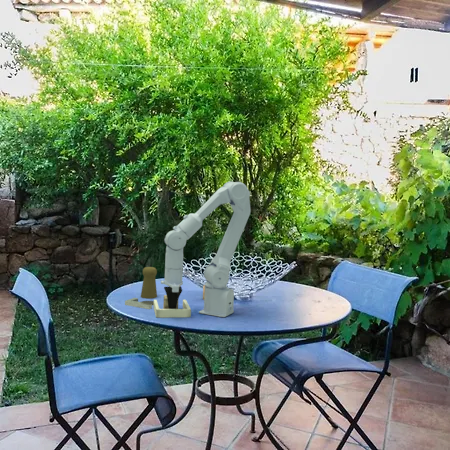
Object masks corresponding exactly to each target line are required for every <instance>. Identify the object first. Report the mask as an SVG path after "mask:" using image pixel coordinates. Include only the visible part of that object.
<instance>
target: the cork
mask: <svg viewBox="0 0 450 450" xmlns="http://www.w3.org/2000/svg"><path fill="white" fill-rule="evenodd" d="M157 270H158V269H157V268H156V267H153V266H145V267H144V268H143V269H142V275H143V280H142V285H141V293H140V298H142V299H146V300H147V299H150V300H151V299H157V298H158V291H157V283H156V276H157V273H158V271H157Z"/></svg>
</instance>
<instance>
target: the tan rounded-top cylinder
mask: <svg viewBox="0 0 450 450" xmlns="http://www.w3.org/2000/svg"><path fill="white" fill-rule="evenodd" d="M204 295H205V284H203V286H202V300H203V301H204Z"/></svg>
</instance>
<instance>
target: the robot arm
mask: <svg viewBox="0 0 450 450" xmlns="http://www.w3.org/2000/svg"><path fill="white" fill-rule="evenodd" d="M250 196H251V191H249V189H248V187H247V185H246V184H245V183H243V182H242V181H235V182H234V181H227V182H225V183H224V184H223V186H221V187H219V188H218V189H217V190H216V191H215V192H214V193H213V194H212V195H211V196H210V197H209V198H208V200H207V201H206V202H205V203H203V204H202V206H201V207H200V208H199V209H198V210H197V211H196V212H195V213H193V212H192V213H189V214H188V215H187V214H185V215H184V216H183V220H181V222H179V223H178V224H177V225H174V226H173V227H172V229H173V230H170V231H168V232H167V233H166V235H165V237H164V243H165V245H166V248H165V259H164V261H165V263H164V280H160V284H161V285H165V286H164V287H163V289H164V291H165V295H167V300H168V307H169V309H176V306H177V302H178V303H179V298H180V296H181V294H182V292H183V289H182V285H183V283H184V281H183V272H184V271H183V270H184V267H183V266H184V247H186V244H187V240H189V239H191V237H193V236H194V234H196V233H197V231H199V230H200V229H201V228H202V227H203V221H204V220H205V219H206V218H207V217H208V216H210V215H211V213H212V212H214V211H215V210H216V209H217V208H218V207H220V206H221V205H225V204H230V207H231V209H232V211H233V213H232V215H231V219H230V221H229V223H228V225H227V228H226V231H225V232H224V235H223V237H222V240H221V243H219V244H220V245H219V247H218V250H217V251H216V254H215V256H214V257H213V258H211V261H210V263H209V264H208V265H207V266H206V267H205V269H204V270H203V277H204V279H205V280H206V282H205V283H204V285H205V295H204V300H203V309H200V311H199V310H198V313H199V314H203V315H209V316H215V317H220V318H225V317H227V316H230V315H231V314H233V313H234V312H235V311H234V302H235V301H234V300H235V291H234V289H232V288H229V287H228V286H227V285H228V282H229V279H230V275H229V274H230V271H231V261H232V259H233V256H234V253H235V251H236V250H237V247H238V245H239V241H240V239H241V237H242V234H243V232H244V230H245V227H246V225H247V222H248V219H250V218H249V217H250V215H251V211H252V209H251V201H250V198H251V197H250Z"/></svg>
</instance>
